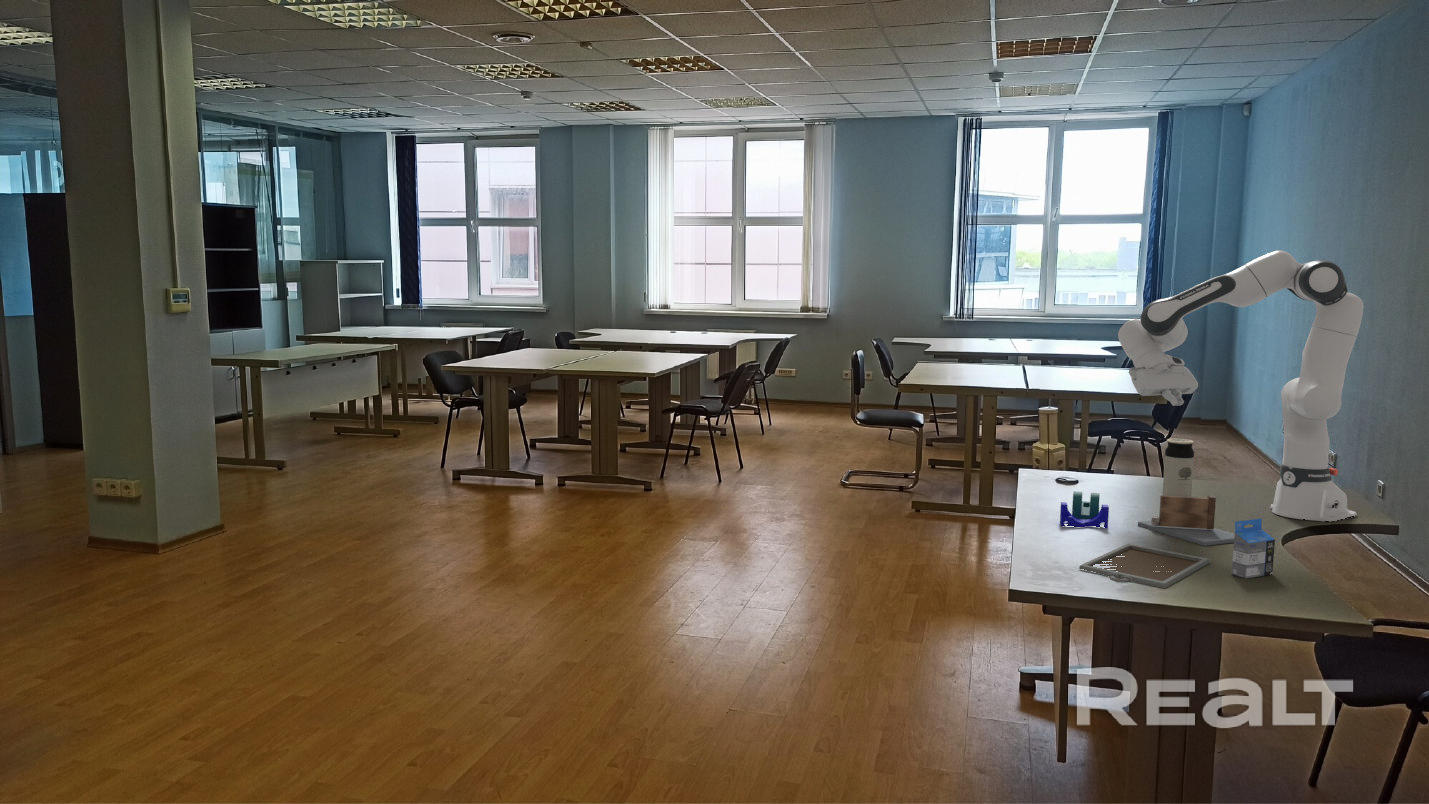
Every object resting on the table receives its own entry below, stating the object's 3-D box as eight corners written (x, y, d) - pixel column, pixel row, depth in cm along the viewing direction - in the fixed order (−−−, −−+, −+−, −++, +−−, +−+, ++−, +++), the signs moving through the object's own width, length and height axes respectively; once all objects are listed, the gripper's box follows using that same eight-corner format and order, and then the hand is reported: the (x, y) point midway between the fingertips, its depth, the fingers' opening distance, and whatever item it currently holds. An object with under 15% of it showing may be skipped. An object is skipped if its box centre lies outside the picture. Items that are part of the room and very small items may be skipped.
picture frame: (1209, 558, 230) (1160, 586, 209) (1209, 565, 230) (1159, 593, 209) (1128, 543, 243) (1074, 567, 222) (1127, 549, 243) (1073, 574, 222)
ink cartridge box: (1245, 579, 217) (1249, 525, 216) (1230, 574, 221) (1234, 521, 219) (1273, 575, 221) (1277, 521, 219) (1257, 570, 224) (1261, 517, 223)
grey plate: (1176, 521, 270) (1177, 517, 270) (1245, 540, 250) (1245, 536, 249) (1137, 525, 265) (1138, 521, 265) (1204, 545, 245) (1204, 542, 244)
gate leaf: (1211, 527, 257) (1213, 495, 256) (1213, 529, 255) (1215, 497, 254) (1150, 524, 260) (1152, 492, 259) (1152, 526, 258) (1154, 494, 257)
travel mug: (1158, 495, 303) (1162, 438, 301) (1185, 495, 302) (1189, 438, 300) (1167, 500, 295) (1170, 442, 293) (1194, 501, 294) (1198, 442, 292)
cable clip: (1060, 527, 264) (1062, 505, 263) (1059, 523, 268) (1060, 502, 267) (1108, 530, 260) (1109, 508, 260) (1106, 526, 265) (1107, 504, 264)
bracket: (1097, 524, 267) (1099, 496, 266) (1071, 521, 270) (1073, 493, 269) (1099, 510, 284) (1100, 483, 283) (1074, 508, 286) (1075, 481, 285)
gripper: (1132, 360, 278) (1157, 398, 270) (1186, 359, 285) (1212, 396, 278) (1120, 375, 283) (1144, 412, 275) (1173, 373, 290) (1198, 409, 282)
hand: (1178, 404), depth 276 cm, fingers closed
